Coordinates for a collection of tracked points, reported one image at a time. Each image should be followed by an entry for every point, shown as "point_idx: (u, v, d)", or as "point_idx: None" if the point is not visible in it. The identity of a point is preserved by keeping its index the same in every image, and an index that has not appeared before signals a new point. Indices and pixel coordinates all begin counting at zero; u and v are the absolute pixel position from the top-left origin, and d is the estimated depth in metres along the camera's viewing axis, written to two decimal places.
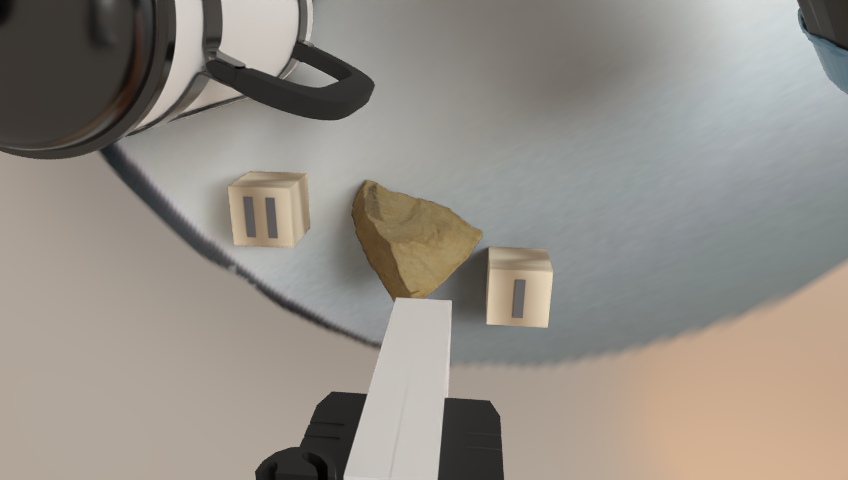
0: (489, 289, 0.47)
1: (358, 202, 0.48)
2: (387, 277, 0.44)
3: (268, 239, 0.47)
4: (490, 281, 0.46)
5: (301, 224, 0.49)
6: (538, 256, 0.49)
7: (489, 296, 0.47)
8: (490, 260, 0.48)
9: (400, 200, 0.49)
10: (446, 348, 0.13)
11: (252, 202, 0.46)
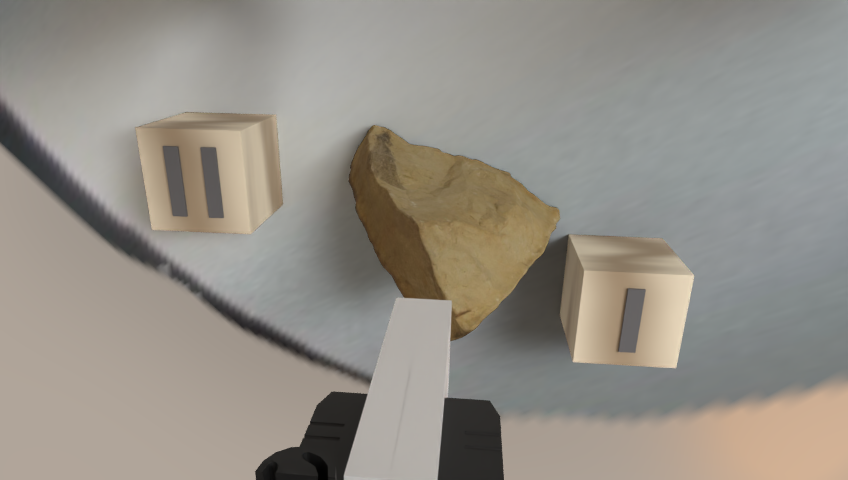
0: (581, 304, 0.28)
1: (360, 159, 0.29)
2: (412, 285, 0.25)
3: (209, 220, 0.28)
4: (584, 291, 0.27)
5: (267, 196, 0.30)
6: (655, 249, 0.30)
7: (580, 316, 0.28)
8: (579, 256, 0.29)
9: (428, 157, 0.30)
10: (446, 348, 0.13)
11: (179, 156, 0.27)
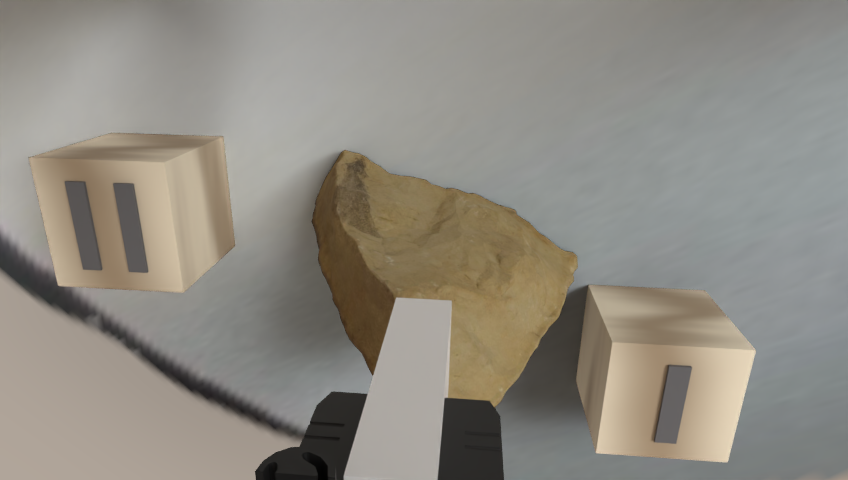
0: (607, 384, 0.22)
1: (325, 195, 0.23)
2: None
3: (129, 274, 0.22)
4: (611, 368, 0.21)
5: (209, 240, 0.24)
6: (699, 308, 0.23)
7: (606, 398, 0.22)
8: (604, 318, 0.22)
9: (412, 191, 0.23)
10: (446, 348, 0.13)
11: (86, 194, 0.21)
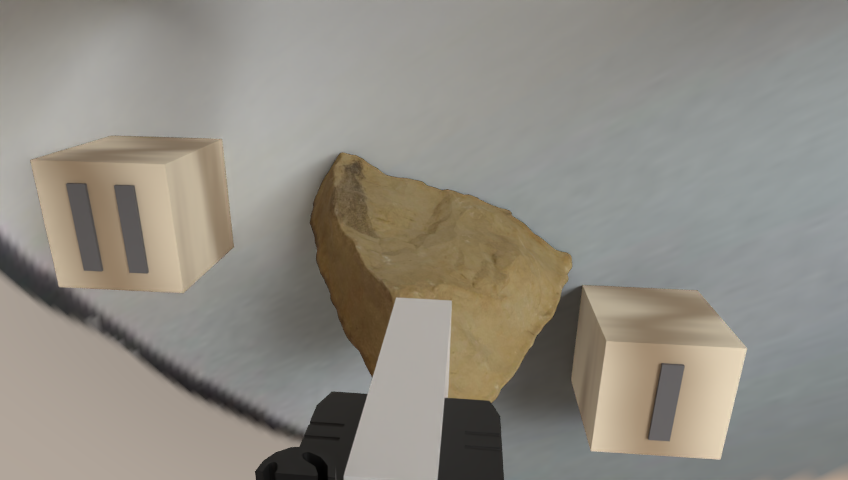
0: (602, 382, 0.22)
1: (323, 196, 0.23)
2: None
3: (130, 275, 0.22)
4: (605, 366, 0.22)
5: (209, 241, 0.24)
6: (692, 307, 0.24)
7: (601, 396, 0.22)
8: (599, 318, 0.23)
9: (409, 192, 0.24)
10: (446, 348, 0.13)
11: (87, 196, 0.21)
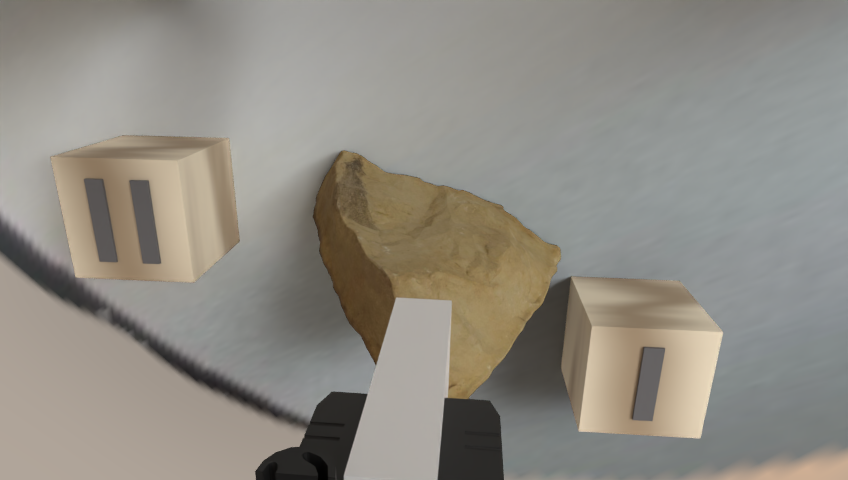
0: (588, 365, 0.23)
1: (326, 192, 0.24)
2: None
3: (143, 266, 0.23)
4: (591, 350, 0.23)
5: (217, 234, 0.25)
6: (673, 296, 0.25)
7: (587, 379, 0.23)
8: (585, 306, 0.24)
9: (407, 188, 0.25)
10: (446, 348, 0.13)
11: (104, 191, 0.22)
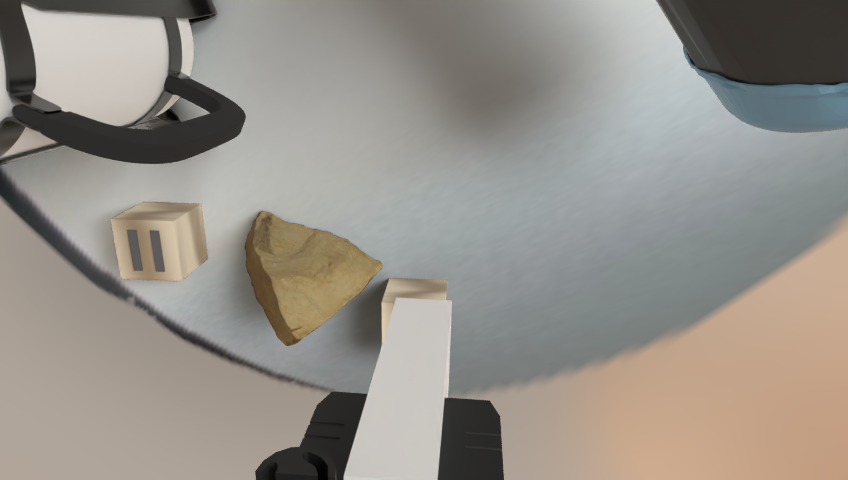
0: (382, 323, 0.46)
1: (250, 234, 0.47)
2: (271, 312, 0.43)
3: (155, 272, 0.46)
4: (383, 315, 0.45)
5: (194, 256, 0.48)
6: (436, 288, 0.48)
7: (383, 330, 0.46)
8: (385, 293, 0.47)
9: (295, 231, 0.48)
10: (446, 348, 0.13)
11: (136, 235, 0.45)
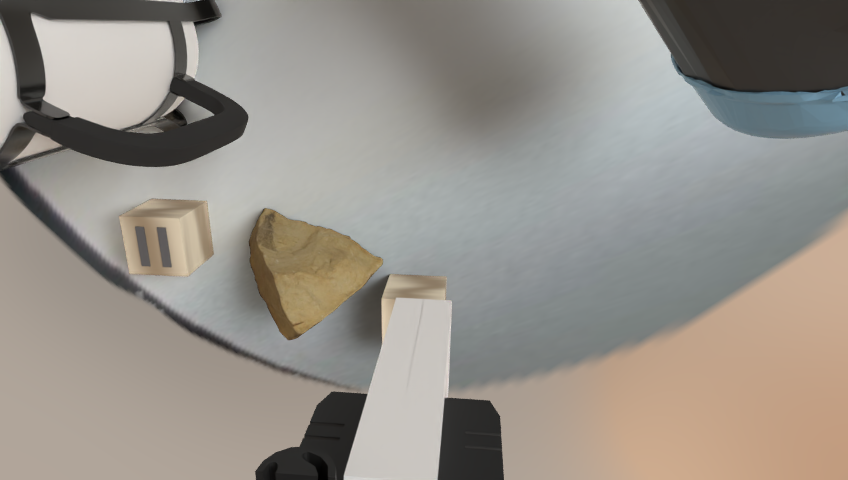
0: (382, 318, 0.47)
1: (254, 230, 0.48)
2: (274, 308, 0.44)
3: (163, 268, 0.47)
4: (383, 310, 0.47)
5: (200, 252, 0.49)
6: (435, 284, 0.49)
7: (383, 325, 0.47)
8: (385, 289, 0.48)
9: (297, 228, 0.49)
10: (446, 348, 0.13)
11: (144, 232, 0.46)
